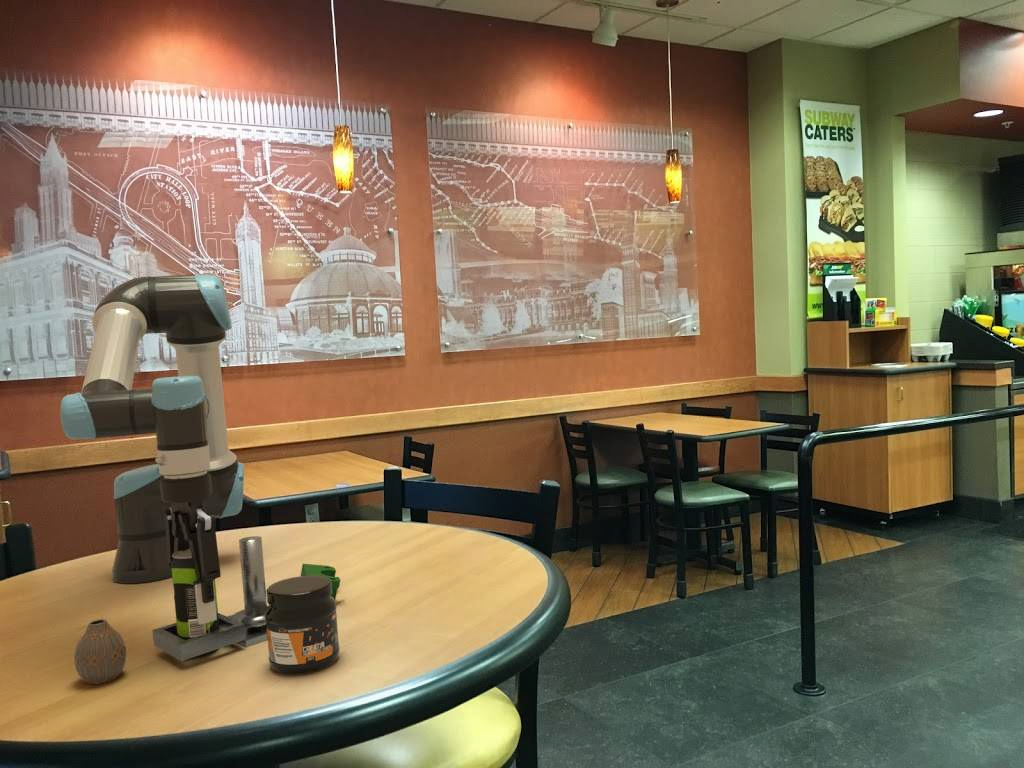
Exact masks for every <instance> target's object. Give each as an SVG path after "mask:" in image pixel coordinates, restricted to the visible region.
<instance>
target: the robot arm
mask: <svg viewBox="0 0 1024 768" xmlns="http://www.w3.org/2000/svg"><path fill="white" fill-rule="evenodd" d="M224 288H225V287H224V284H223V282H222V280H221V278H219V276H216V275H214V274H213V275H212V274H197V273H196V274H195V273H194V274H177V275H175V274H174V275H161V276H160V275H158V276H139V277H135V278H132V279H129V280H126V281H125V282H122V283H121V284H119V285H118V286H116V287H115V288H113V289H111V290H110V291H109V292H108V293H107V294H106V295H105V296H104V297H103V298H102V299H101V300H100V302H99V303H98V305H97V306H96V308H95V310H94V313H93V317H92V328H93V331H94V333H95V334H94V338H93V343H92V347H91V351H90V355H89V359H88V364H87V368H86V371H85V376H84V380H83V383H82V384H83V385H82V388H81V392H76V393H71V394H67V395H65V396H63V397H62V399H61V403H60V410H59V411H60V412H59V413H60V423H61V427H62V431H63V433H64V436H65V437H67V438H68V439H70V440H97V439H107V438H116V437H117V438H118V437H126V436H138V435H139V436H140V435H151V434H155V438H156V449H157V457H156V458H155V463H156V464H150V465H146V466H143V467H142V466H141V467H138V468H134V469H131V470H128V471H125V472H123V473H120V474H119V475H118V476H116V477H115V479H114V482H113V496H112V497H113V498H112V499H113V500H114V506H115V517H116V527H117V537H118V545H117V548H116V552H115V555H114V556H115V557H114V560H113V565H112V568H111V569H112V573H111V574H112V580H113V582H116V583H118V584H119V583H121V584H139V583H149V582H155V581H160V580H164V579H168V578H172V567H171V562H172V560H173V557H172V555H173V553H175V552H177V551H185V550H187V549H189V548H190V550H191V554H192V559H193V563H194V568H195V572H196V577H197V580H196V581H193V584H194V585H195V594H196V606H197V617H198V624H200V625H201V624H204V623H208V622H211V621H214V620H217V616H216V604H215V593H214V581H213V580H215V581H216V579H219V578H221V574H222V573H221V567H220V559H219V557H220V556H219V549H218V542H217V541H218V540H217V532H216V531H217V530H216V528H217V527H216V523H217V519H222V518H225V517H231V516H236V515H238V514H239V513H241V511H242V508H243V500H244V499H243V498H244V480H245V479H244V477H245V464H244V463H243V462H240V461H238V460H237V457H238V456H237V454H235V453H234V452H233V451H231V450H229V440H228V439H229V438H228V430H227V419H226V407H225V399H224V388H223V378H222V377H223V376H222V367H221V357H220V356H221V355H220V345H221V344H222V343H223V342H224V341H225V339H226V332H228V331H229V330H231V329H232V328H233V327H232V325H233V324H232V319H231V313H230V308H229V304H228V300H227V295H226V291H225V289H224ZM148 334H165V338H166V339H165V340H166V344H168V345H169V346H171V347H173V348H174V350H175V357H176V366H177V374H178V375H177V376H169V377H168V376H167V377H159V378H156V379H154V380H153V382H152V384H151V388H141V389H133V382H134V375H135V372H136V371H135V370H136V369H135V368H136V362H137V356H138V350H139V344H140V341H141V340H142V339H143V338H144V337H145V335H148Z"/></svg>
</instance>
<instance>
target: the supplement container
mask: <svg viewBox="0 0 1024 768" xmlns="http://www.w3.org/2000/svg"><path fill="white" fill-rule="evenodd" d="M331 595H332V582H331V580H330V579H328V578H326V577H322V576H301V575H300V576H294V577H289V578H285V579H282V580H281V579H280V580H279V581H276V582H274V583H272V584H271V585H269V586H268V587H267V589H266V599H267V606H268V607H267V608H266V610H265V619H266V626H267V638H268V640H267V647H268V650H267V651H268V663H269V665H270V666H269V667H271V669H273V670H274V671H276V672H278V673H281V674H284V675H303V674H304V675H305V674H309V673H314V672H317V671H321V670H323V669H325V668H327V667H329V666H330V665H332V664H333V663H335V661H336V660H337V658H338V657H339V655H340V644H339V631H338V630H339V628H338V617H337V605H338V604H337V600H335V599H334V598H333V597H332V596H331Z"/></svg>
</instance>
